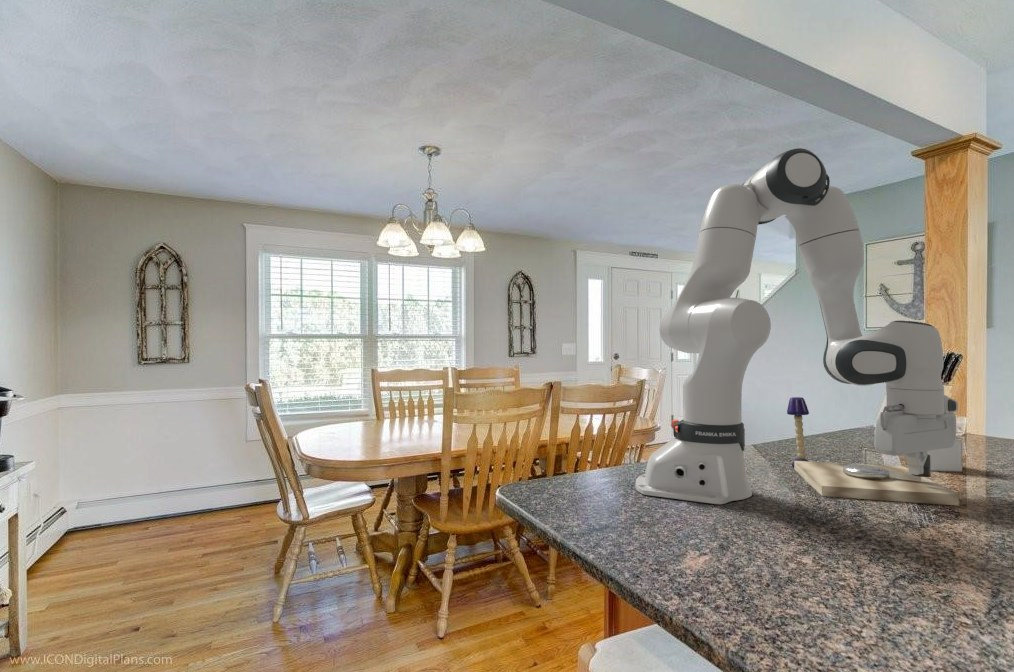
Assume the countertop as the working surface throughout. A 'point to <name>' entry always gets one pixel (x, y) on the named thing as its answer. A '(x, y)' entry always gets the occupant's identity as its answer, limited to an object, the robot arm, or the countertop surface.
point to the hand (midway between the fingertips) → (916, 473)
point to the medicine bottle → (947, 458)
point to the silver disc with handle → (885, 471)
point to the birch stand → (873, 485)
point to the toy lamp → (798, 424)
